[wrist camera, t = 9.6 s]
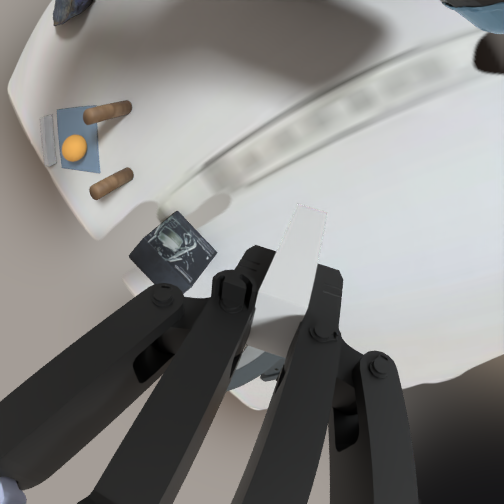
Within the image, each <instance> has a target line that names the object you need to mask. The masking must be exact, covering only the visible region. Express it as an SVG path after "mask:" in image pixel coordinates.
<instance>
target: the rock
mask: <svg viewBox="0 0 504 504" xmlns="http://www.w3.org/2000/svg"><path fill="white" fill-rule="evenodd" d="M91 2H92V0H56V1H55V8H54V12H53V20H54V26H57V25H60V24H63V23H65V22H66V21H67V20H69V19H70V18H72V17H74V16H75V15H78V14H80V13H81V12H82V11H84V10H85V9H86V8H87V7H88V6H89V5H90V4H91Z"/></svg>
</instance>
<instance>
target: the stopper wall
mask: <svg viewBox="0 0 504 504" xmlns="http://www.w3.org/2000/svg"><path fill="white" fill-rule="evenodd" d="M40 127H41V139H42V148H43V156H44V164H45V166H48V167H49V166H51V165H53V164H55V163H57V162H56V154H55V145H54V134H53V119H52V115H47V116H44V117H41V118H40Z"/></svg>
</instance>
